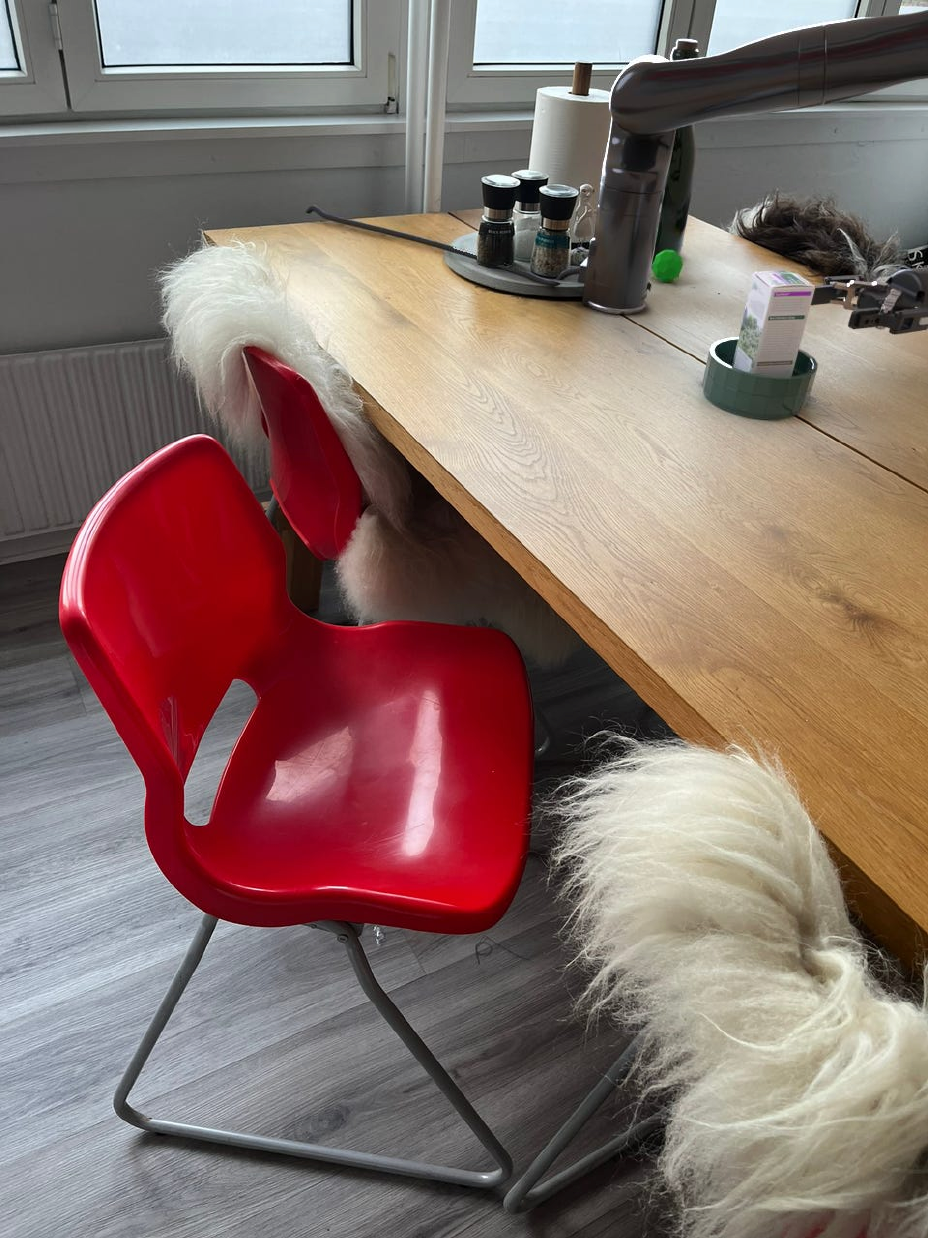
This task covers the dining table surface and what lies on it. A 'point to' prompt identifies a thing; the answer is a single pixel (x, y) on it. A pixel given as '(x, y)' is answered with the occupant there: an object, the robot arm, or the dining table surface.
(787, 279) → the syrup box
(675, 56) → the beer bottle
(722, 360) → the crock
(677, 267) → the polyhedron
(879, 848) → the dining table surface
